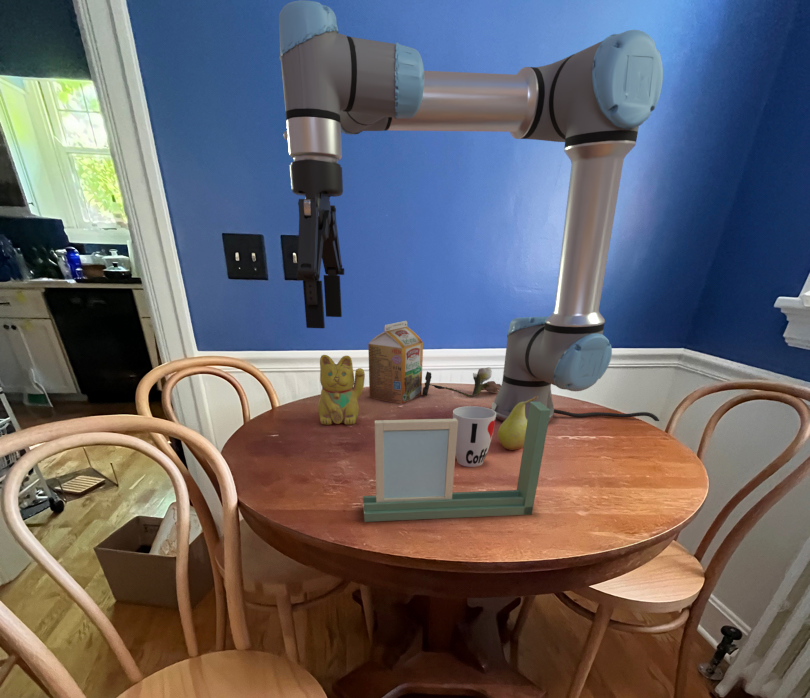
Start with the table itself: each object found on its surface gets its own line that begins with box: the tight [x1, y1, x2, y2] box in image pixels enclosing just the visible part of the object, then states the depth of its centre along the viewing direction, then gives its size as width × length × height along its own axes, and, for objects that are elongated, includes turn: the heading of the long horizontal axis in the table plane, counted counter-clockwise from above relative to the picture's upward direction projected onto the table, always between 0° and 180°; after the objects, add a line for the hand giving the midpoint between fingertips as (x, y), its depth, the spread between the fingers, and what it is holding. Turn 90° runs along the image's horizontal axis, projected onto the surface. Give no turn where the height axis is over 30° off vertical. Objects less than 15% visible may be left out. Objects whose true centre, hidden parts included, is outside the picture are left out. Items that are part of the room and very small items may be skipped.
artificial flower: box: [421, 367, 502, 398], centre depth 135 cm, size 9×22×10 cm, turn 90°
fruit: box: [497, 396, 538, 451], centre depth 98 cm, size 7×8×12 cm
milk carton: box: [367, 320, 424, 405], centre depth 129 cm, size 11×11×19 cm
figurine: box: [317, 354, 366, 426], centre depth 112 cm, size 11×9×15 cm
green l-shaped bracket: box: [362, 402, 551, 523], centre depth 73 cm, size 27×4×17 cm, turn 97°
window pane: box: [374, 418, 458, 502], centre depth 72 cm, size 12×1×13 cm, turn 97°
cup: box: [452, 405, 497, 468], centre depth 92 cm, size 8×8×10 cm
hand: (325, 322), depth 80 cm, fingers open, 13 cm apart
